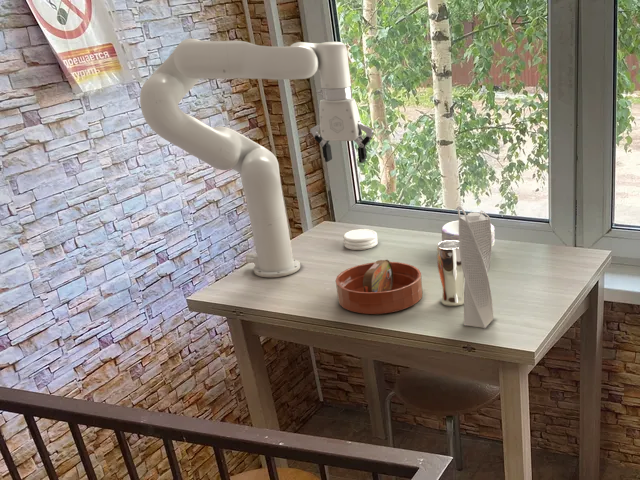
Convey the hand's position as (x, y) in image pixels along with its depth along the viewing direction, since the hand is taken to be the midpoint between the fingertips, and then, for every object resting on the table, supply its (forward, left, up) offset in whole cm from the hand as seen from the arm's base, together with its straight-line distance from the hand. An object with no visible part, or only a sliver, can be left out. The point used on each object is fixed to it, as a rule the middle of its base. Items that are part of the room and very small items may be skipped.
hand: (345, 161), depth 212 cm
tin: (+16, -25, -28) cm, 41 cm away
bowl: (+16, -25, -28) cm, 41 cm away
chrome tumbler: (+35, -24, -28) cm, 51 cm away
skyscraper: (+44, -35, -28) cm, 63 cm away
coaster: (-4, +13, -28) cm, 32 cm away
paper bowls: (+30, +11, -28) cm, 43 cm away
